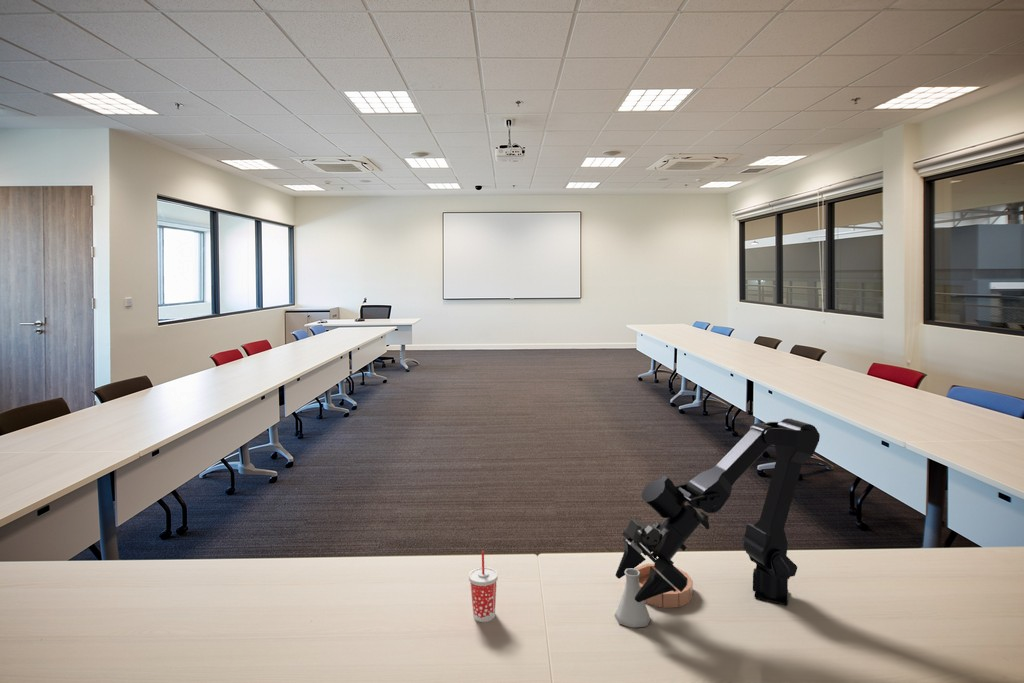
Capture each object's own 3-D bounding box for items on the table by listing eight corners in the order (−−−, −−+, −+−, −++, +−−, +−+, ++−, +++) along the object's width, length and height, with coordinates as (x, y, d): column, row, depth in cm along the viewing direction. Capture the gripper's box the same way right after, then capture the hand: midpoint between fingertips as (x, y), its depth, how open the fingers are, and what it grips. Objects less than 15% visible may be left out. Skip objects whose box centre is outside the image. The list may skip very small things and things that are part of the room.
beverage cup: (482, 604, 116) (480, 542, 115) (504, 613, 112) (503, 549, 111) (463, 617, 111) (462, 553, 110) (486, 627, 107) (485, 561, 106)
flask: (651, 630, 105) (651, 582, 105) (614, 627, 107) (614, 579, 106) (649, 610, 112) (649, 564, 112) (614, 606, 114) (614, 561, 113)
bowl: (696, 583, 122) (696, 571, 122) (685, 613, 111) (685, 599, 111) (640, 571, 128) (640, 559, 128) (624, 598, 117) (624, 585, 117)
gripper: (630, 491, 118) (583, 544, 116) (673, 525, 100) (619, 589, 98) (662, 521, 120) (617, 574, 119) (710, 560, 102) (657, 623, 100)
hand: (626, 588), depth 109 cm, fingers open, 9 cm apart
